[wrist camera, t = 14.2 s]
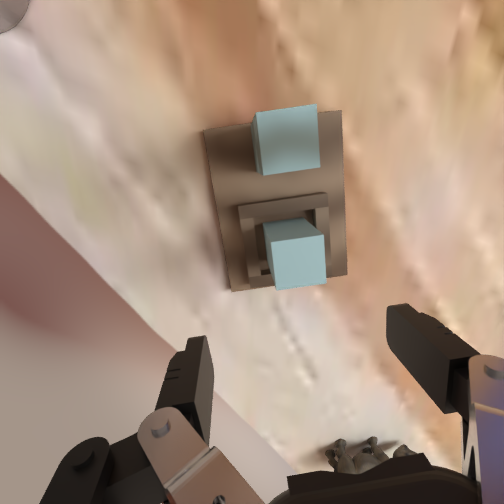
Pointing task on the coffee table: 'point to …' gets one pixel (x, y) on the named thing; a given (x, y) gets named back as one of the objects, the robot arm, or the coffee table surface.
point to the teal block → (294, 253)
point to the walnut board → (278, 186)
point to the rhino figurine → (362, 457)
